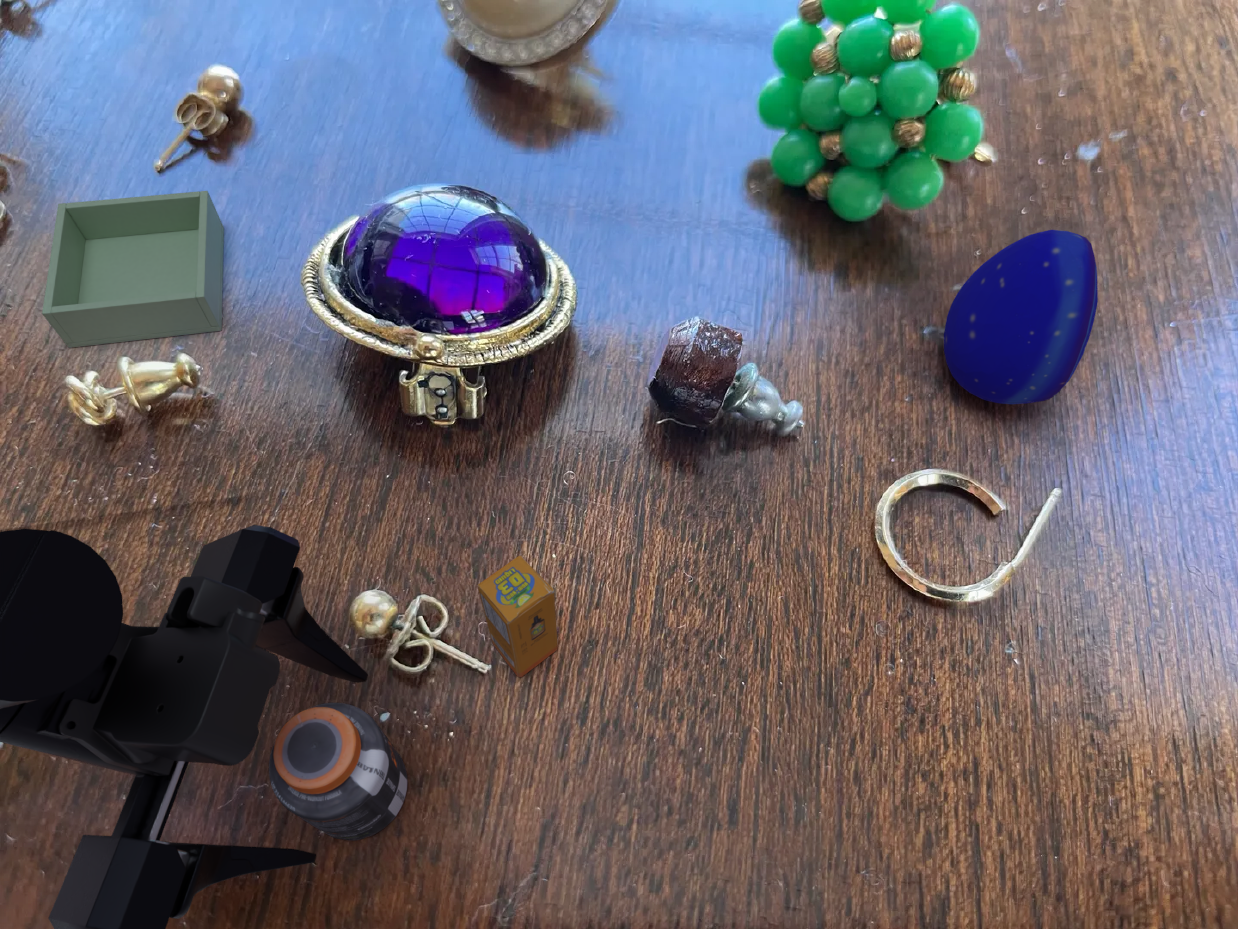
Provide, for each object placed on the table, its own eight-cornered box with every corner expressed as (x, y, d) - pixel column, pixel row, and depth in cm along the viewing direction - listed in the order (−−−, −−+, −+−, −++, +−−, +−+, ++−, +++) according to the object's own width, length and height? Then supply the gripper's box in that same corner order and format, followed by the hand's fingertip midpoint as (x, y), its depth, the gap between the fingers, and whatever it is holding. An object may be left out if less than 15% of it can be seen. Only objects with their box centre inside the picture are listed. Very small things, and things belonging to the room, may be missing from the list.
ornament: (1046, 437, 69) (1160, 314, 56) (930, 423, 69) (1018, 297, 56) (1027, 327, 74) (1127, 192, 61) (920, 314, 74) (997, 176, 61)
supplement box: (527, 611, 59) (523, 549, 50) (559, 650, 58) (560, 594, 49) (487, 640, 58) (475, 583, 49) (518, 681, 57) (512, 629, 48)
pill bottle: (428, 771, 54) (400, 727, 44) (366, 862, 51) (322, 836, 41) (350, 719, 55) (306, 665, 45) (286, 806, 52) (224, 768, 42)
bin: (68, 348, 67) (41, 313, 64) (82, 240, 72) (57, 203, 69) (221, 331, 69) (204, 296, 65) (224, 227, 74) (207, 190, 71)
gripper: (-36, 937, 27) (377, 987, 37) (193, 434, 37) (475, 576, 46) (-115, 911, 34) (249, 959, 44) (94, 494, 44) (357, 607, 53)
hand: (338, 764), depth 46 cm, fingers open, 9 cm apart
